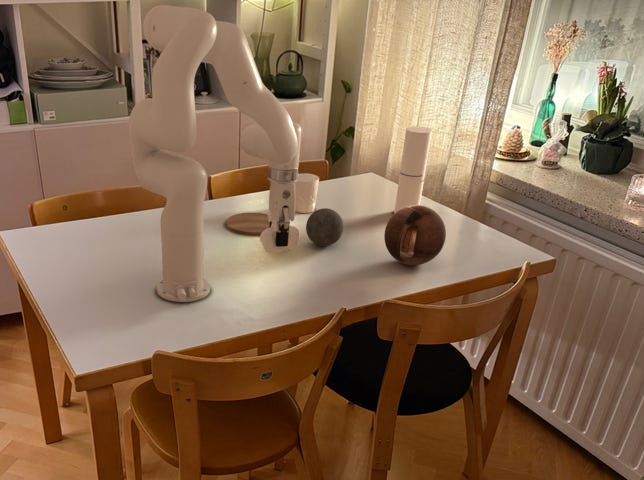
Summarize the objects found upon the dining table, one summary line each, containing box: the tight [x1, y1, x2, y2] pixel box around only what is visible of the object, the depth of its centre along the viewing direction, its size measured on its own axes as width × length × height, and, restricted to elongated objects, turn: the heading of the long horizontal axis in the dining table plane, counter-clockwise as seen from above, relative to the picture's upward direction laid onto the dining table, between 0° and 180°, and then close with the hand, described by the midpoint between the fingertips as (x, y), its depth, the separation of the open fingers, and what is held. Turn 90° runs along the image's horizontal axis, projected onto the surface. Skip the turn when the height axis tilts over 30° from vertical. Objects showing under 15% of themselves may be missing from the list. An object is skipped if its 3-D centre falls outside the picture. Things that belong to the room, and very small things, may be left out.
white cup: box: [295, 173, 320, 214], centre depth 211 cm, size 8×8×10 cm
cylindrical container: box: [393, 126, 433, 215], centre depth 205 cm, size 7×7×25 cm
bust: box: [259, 211, 300, 254], centre depth 183 cm, size 12×8×11 cm
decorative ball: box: [305, 207, 344, 247], centre depth 188 cm, size 10×10×10 cm
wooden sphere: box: [383, 204, 447, 266], centre depth 176 cm, size 15×15×15 cm
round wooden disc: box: [225, 212, 270, 237], centre depth 202 cm, size 16×16×1 cm
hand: (278, 240), depth 184 cm, fingers closed on bust, 7 cm apart
